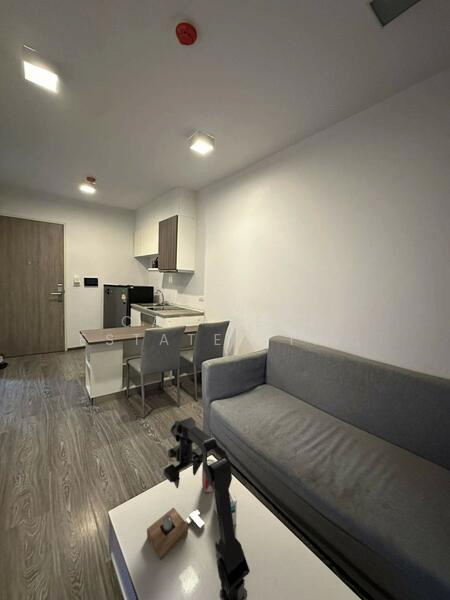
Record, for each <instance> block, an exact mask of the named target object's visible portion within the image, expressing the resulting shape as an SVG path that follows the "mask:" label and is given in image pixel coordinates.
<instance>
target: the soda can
mask: <svg viewBox="0 0 450 600" xmlns="http://www.w3.org/2000/svg"><path fill="white" fill-rule="evenodd" d="M214 462H216V461H215V460H213V459H207V464H208V465H210V464H212V463H214ZM201 469H202V471H201V475H202V476H201V486H202V489H203V490H204V491H205V492H207V493H210V492H211V493H212V492H214V490H213V489H212V487H211V486H210V485H209V483H208V480H207V477H206V475H205V472H204V469H203V467H202V468H201Z"/></svg>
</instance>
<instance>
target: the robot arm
mask: <svg viewBox="0 0 450 600" xmlns="http://www.w3.org/2000/svg"><path fill="white" fill-rule="evenodd" d="M169 432H170V434H171V435H172V437H173V438H174V440H175V441H176V442H177V443H178V444H177V445H176V446H174V447H172V448H169V449H168V451H167V454H168V457H169V458H170V459H173V458H174V459H175V461H176V462H178V464H177V465H176V466H175V465H174V464H173V463H171V464H169V465H168V466H166V467H165V468H164V469H163V475H164V477H165V478H166V479H167V480H168V482H170V483H174V485H175V488H176V489H178V488H179V486H180V485H179V484H180V480H181V479H180V478H181V477H180V472H181V471H182V470H184V469H186V468H187V467H188V466H190V465H192V474H193V475H194V476H196V474H197V473H198V471H199V469H200V467H201V466H202V468H203V469H204V472H205V475H206V477H207V480H208V483H209V485H210V486H211V487H212V489H213V494H214V493H215V501H216V509H217V514H216V516H217V522H218V523H217V524H218V531H219V539H218V540H217V541H215V546H214V548H215V554H216V555H215V557H216V559H217V560H216V567H217V575H218V578H219V580H220V591H219V594H220V596H221V597H222V598H223V600H244V599H245V598H246V596H247V595H248V590H247V589H246V588H245V579H244V578H245V577H247V576H248V575H249V574H250V573H251V572H250V571H251V570H250V567H249V564H248V561H247V558H246V556H245V553H244V550H243V548H242V544H241V542H240V541H239V540H238V539H237V538H236V534H235V533H236V532H235V526H234V525H233V517H232V510H231V502H230V495H229V487H230V488H231V484H232V483H231V482H232V481H233V473H232V472H233V469H232V464H231V462H230V459H229V457H228V455H227V453H226V451H225V450H224V449H223V448H222V447H220V446H219V445H218V443H217V440H216V439H215V438H214V437H211V436H210V435H208V434H207V433H206V432H204V431H203V430H202V429H200V428H199V427H198V426H197V423H196V421H195V419H193V417H191V416H190V417H187V418H185V419H182V420H176V421H174V424H173V425H172V426H171V428H170V431H169ZM193 443H194V444H195V445H196V446H197V447H196V448H194V449H193V445H194V444H193ZM211 451H214V452H215V453H216V455H219V456H220V459H218V460H216V461H215V462H214V463H212V464H210V465H208V464H207V460H208V454H209V453H210V452H211Z"/></svg>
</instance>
